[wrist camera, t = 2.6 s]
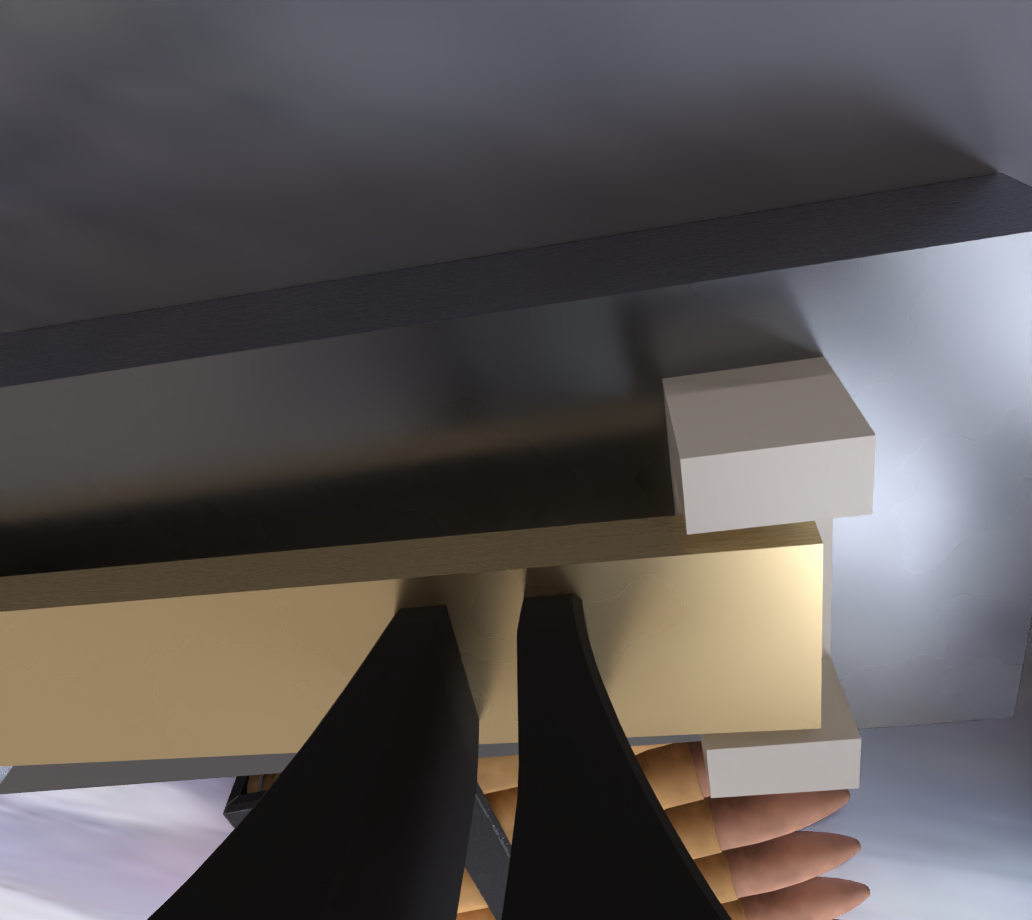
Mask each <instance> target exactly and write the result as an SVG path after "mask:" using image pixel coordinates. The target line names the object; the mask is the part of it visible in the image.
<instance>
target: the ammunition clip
mask: <svg viewBox="0 0 1032 920" xmlns="http://www.w3.org/2000/svg"><path fill="white" fill-rule="evenodd" d="M631 748H632V750H633V752H634V754H635V756H636V758H637V760H638V762H639V764H640V766H641V768H642V770H643V772H644V774H645V776H646V778H647V780H648V782H649V783H650V785H651V787H652V789H653V791H654V793H655V795H656V797H657V798H658V800H659V802H660V804H661V806H662V807H663V809H664V811H665V813H666V815H667V816H668V818H669V820H670V822H671V823H672V825H673V827H674V828H675V830H676V832H677V834H678V835H679V837H680V839H681V840H682V842H683V844H684V845H685V847H686V849H687V851H688V852H689V854H690V855H691V857H692V859H693V860H694V862H695V863H696V865H697V867H698V868H699V870H700V871H701V873H702V875H703V876H704V878H705V879H706V881H707V883H708V884H709V886H710V887H711V889H712V891H713V892H714V894H715V895H716V897H717V898H718V900H719V901H720V903H721V904H722V906H723V907H724V909H725V910H726V912H727V913H728V914H729V916H730V917H731V919H732V920H839V919H834V918H836V917H838V916H840V915H842V914H844V913H846V912H848V911H850V910H852V909H853V908H855V907H856V906H858V905H859V904H860V903H862V902H863V901H864V900H866V899H867V898H868V897H869V895H870V889H869V888H868V886H866V885H864V884H861V883H858V882H854V881H851V880H845V879H840V878H828V877H816V876H819V875H821V874H823V873H825V872H827V871H829V870H831V869H833V868H835V867H837V866H839V865H841V864H842V863H844V862H846V861H847V860H849V859H850V858H851V857H852V856H854V855H855V854H856V853H857V852H858V851H859V850H860V848H861V845H860V842H859V841H858V840H857V839H855V838H852V837H848V836H844V835H840V834H834V833H827V832H813V831H797V830H799V829H802V828H804V827H806V826H809V825H811V824H813V823H815V822H817V821H819V820H821V819H823V818H825V817H827V816H829V815H830V814H832V813H833V812H835V811H837V810H838V809H839V808H840V807H842V806H843V805H844V804H845V803H847V802H848V801H849V799H850V793H849V791H848V790H847V789H841V790H826V791H811V792H796V793H781V794H765V795H750V796H735V797H720V798H711V796H710V790H709V784H708V778H707V773H706V767H705V761H704V755H703V749H702V743H701V741H695V742H682V743H669V744H655V745H642V746H631ZM518 768H519V755H510V756H497V757H484V758H478V772H477V789H476V796H475V803H474V809H473V816H472V823H471V829H470V836H469V842H468V849H467V855H466V861H465V867H464V874H463V880H462V886H461V893H460V899H459V905H458V911H457V918H456V920H501V919H502V912H503V905H504V898H505V891H506V884H507V877H508V870H509V862H510V853H511V845H512V837H513V829H514V820H515V812H516V804H517V791H518ZM280 774H281V773H273V774H260V775H247V776H237V777H236V780H235V783H234V786H233V788H232V791H231V794H230V796H229V799H228V802H227V804H226V807H225V810H224V812H223V815H224V816H225V817H226V819H227V820H228V821H229V822H230V824H231V825H232V826H233V827H234V829H235V828H236V827H237V826H238V824H239V823H240V822H241V821H242V820H243V819H244V817H245V816H246V815H247V814H248V813H249V812H250V810H251V809H252V808H253V807H254V806H255V805H256V803H257V802H258V801H259V800H260V799H261V797H262V796H263V795H264V794H265V792H266V791H267V790H268V789H269V787H270V786H271V785H272V784H273V782H274V781H275V780H276V779H277V777H278V776H279V775H280Z"/></svg>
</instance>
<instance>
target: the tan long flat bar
mask: <svg viewBox="0 0 1032 920" xmlns="http://www.w3.org/2000/svg"><path fill="white" fill-rule="evenodd" d="M569 593H573V594H574V595H576V596H577V597H579V598H580V599H582V601H583V606H584V612H585V617H586V623H587V629H588V634H589V640H590V645H591V648H592V651H593V654H594V658H595V661H596V664H597V667H598V670H599V673H600V675H601V678H602V681H603V683H604V686H605V688H606V691H607V693H608V695H609V698H610V700H611V703H612V705H613V708H614V710H615V712H616V715H617V717H618V720H619V722H620V724H621V726H622V728H623V731H624V733H625V735H626V737H647V736H669V735H690V734H712V733H733V732H755V731H777V730H798V729H820V728H821V681H822V599H823V542H822V539H821V536H820V534H819V531H818V528H817V526H816V523H815V521H806V522H797V523H788V524H779V525H770V526H761V527H752V528H743V529H734V530H725V531H715V532H706V533H697V534H688V535H687V532H686V527H685V522H684V518H683V515H674V516H663V517H652V518H641V519H630V520H619V521H608V522H598V523H587V524H576V525H565V526H554V527H543V528H532V529H521V530H510V531H499V532H488V533H477V534H466V535H455V536H444V537H433V538H422V539H411V540H400V541H389V542H378V543H367V544H356V545H345V546H334V547H323V548H312V549H301V550H290V551H280V552H269V553H258V554H247V555H236V556H225V557H214V558H203V559H192V560H181V561H170V562H159V563H148V564H137V565H126V566H115V567H104V568H93V569H82V570H71V571H60V572H49V573H38V574H27V575H16V576H5V577H0V766H22V765H43V764H65V763H87V762H108V761H130V760H151V759H173V758H194V757H216V756H238V755H259V754H281V753H297V752H298V751H299V750H300V749H301V747H302V746H303V745H304V743H305V742H306V741H307V739H308V738H309V737H310V735H311V734H312V733H313V731H314V730H315V729H316V727H317V726H318V724H319V723H320V722H321V720H322V719H323V718H324V716H325V715H326V713H327V712H328V711H329V709H330V708H331V706H332V705H333V704H334V702H335V701H336V700H337V698H338V697H339V695H340V694H341V693H342V691H343V690H344V689H345V687H346V686H347V684H348V683H349V681H350V680H351V678H352V677H353V675H354V674H355V673H356V671H357V670H358V668H359V667H360V665H361V664H362V662H363V661H364V659H365V658H366V657H367V655H368V654H369V652H370V651H371V649H372V648H373V646H374V645H375V643H376V642H377V640H378V639H379V637H380V636H381V634H382V633H383V631H384V630H385V628H386V627H387V625H388V624H389V622H390V621H391V620H392V618H393V617H394V615H395V614H396V613H397V612H398V610H399V609H400V608H411V607H423V606H434V605H446V606H447V610H448V613H449V617H450V620H451V624H452V627H453V631H454V634H455V638H456V641H457V645H458V648H459V651H460V655H461V658H462V662H463V665H464V669H465V672H466V676H467V679H468V683H469V686H470V690H471V693H472V697H473V700H474V704H475V707H476V711H477V714H478V718H479V744H496V743H518V695H517V628H518V622H519V617H520V611H521V607H522V602H523V598H527V597H538V596H548V595H558V594H569Z"/></svg>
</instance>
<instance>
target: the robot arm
mask: <svg viewBox="0 0 1032 920" xmlns="http://www.w3.org/2000/svg"><path fill="white" fill-rule="evenodd" d="M517 695H518V755H519V768H518V791H517V804H516V812H515V820H514V829H513V837H512V845H511V853H510V862H509V870H508V877H507V884H506V891H505V898H504V905H503V912H502V919H501V920H732V919H731V917H730V916H729V914H728V913H727V912H726V910H725V909H724V907H723V906H722V904H721V903H720V901H719V900H718V898H717V897H716V895H715V894H714V892H713V891H712V889H711V887H710V886H709V884H708V883H707V881H706V879H705V878H704V876H703V875H702V873H701V871H700V870H699V868H698V867H697V865H696V863H695V862H694V860H693V859H692V857H691V855H690V854H689V852H688V851H687V849H686V847H685V845H684V844H683V842H682V840H681V839H680V837H679V835H678V834H677V832H676V830H675V828H674V827H673V825H672V823H671V822H670V820H669V818H668V816H667V815H666V813H665V811H664V809H663V807H662V806H661V804H660V802H659V800H658V798H657V797H656V795H655V793H654V791H653V789H652V787H651V785H650V783H649V782H648V780H647V778H646V776H645V774H644V772H643V770H642V768H641V766H640V764H639V762H638V760H637V758H636V756H635V754H634V752H633V750H632V748H631V746H630V744H629V741H628V739H627V737H626V735H625V733H624V731H623V728H622V726H621V724H620V722H619V720H618V717H617V715H616V712H615V710H614V708H613V705H612V703H611V700H610V698H609V695H608V693H607V691H606V688H605V686H604V683H603V681H602V678H601V675H600V673H599V670H598V667H597V664H596V661H595V658H594V654H593V651H592V648H591V645H590V640H589V634H588V629H587V623H586V617H585V612H584V606H583V601H582V599H580V598H579V597H577V596H576V595H574V594H573V593H569V594H558V595H548V596H538V597H527V598H523V602H522V607H521V611H520V617H519V622H518V628H517ZM478 750H479V718H478V714H477V711H476V707H475V704H474V700H473V697H472V693H471V690H470V686H469V683H468V679H467V676H466V672H465V669H464V665H463V662H462V658H461V655H460V651H459V648H458V645H457V641H456V638H455V634H454V631H453V627H452V624H451V620H450V617H449V613H448V610H447V606H446V605H434V606H423V607H411V608H400V609H399V610H398V612H397V613H396V614H395V615H394V617H393V618H392V620H391V621H390V622H389V624H388V625H387V627H386V628H385V630H384V631H383V633H382V634H381V636H380V637H379V639H378V640H377V642H376V643H375V645H374V646H373V648H372V649H371V651H370V652H369V654H368V655H367V657H366V658H365V659H364V661H363V662H362V664H361V665H360V667H359V668H358V670H357V671H356V673H355V674H354V675H353V677H352V678H351V680H350V681H349V683H348V684H347V686H346V687H345V689H344V690H343V691H342V693H341V694H340V695H339V697H338V698H337V700H336V701H335V702H334V704H333V705H332V706H331V708H330V709H329V711H328V712H327V713H326V715H325V716H324V718H323V719H322V720H321V722H320V723H319V724H318V726H317V727H316V729H315V730H314V731H313V733H312V734H311V735H310V737H309V738H308V739H307V741H306V742H305V743H304V745H303V746H302V747H301V749H300V750H299V751H298V752H297V754H296V755H295V756H294V757H293V759H292V760H291V761H290V762H289V764H288V765H287V766H286V767H285V769H284V770H283V771H282V772H281V774H280V775H279V776H278V777H277V779H276V780H275V781H274V782H273V784H272V785H271V786H270V787H269V789H268V790H267V791H266V792H265V794H264V795H263V796H262V797H261V799H260V800H259V801H258V802H257V803H256V805H255V806H254V807H253V808H252V809H251V810H250V812H249V813H248V814H247V815H246V816H245V817H244V819H243V820H242V821H241V822H240V823H239V824H238V826H237V827H236V828H235V829H234V830H233V831H232V832H231V834H230V835H229V836H228V837H227V838H226V839H225V840H224V841H223V843H222V844H221V845H220V846H219V847H218V848H217V849H216V850H215V851H214V852H213V853H212V854H211V855H210V857H209V858H208V859H207V860H206V861H205V862H204V863H203V864H202V865H201V866H200V867H199V868H198V870H197V871H196V872H195V873H194V874H193V875H192V876H191V877H190V878H189V879H188V880H187V881H186V882H185V883H184V884H183V885H182V886H181V887H180V888H179V889H178V890H177V891H176V892H175V893H174V894H173V895H172V896H171V897H170V898H169V899H168V900H167V901H166V902H165V903H164V904H163V905H162V906H161V907H160V908H159V909H158V910H157V911H155V912H154V913H153V914H152V915H151V916H150V917H149V918H148V919H147V920H456V918H457V911H458V905H459V899H460V893H461V886H462V880H463V874H464V867H465V861H466V855H467V849H468V842H469V836H470V829H471V823H472V816H473V809H474V803H475V796H476V789H477V772H478Z"/></svg>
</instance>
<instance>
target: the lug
mask: <svg viewBox="0 0 1032 920" xmlns="http://www.w3.org/2000/svg"><path fill="white" fill-rule="evenodd" d="M662 384H663V394H664V405H665V415H666V425H667V435H668V446H669V456H670V466H671V476H672V486H673V497H674V507H675V515H683V518H684V522H685V527H686V532H687V535H688V534H697V533H706V532H715V531H725V530H734V529H743V528H752V527H761V526H770V525H779V524H788V523H797V522H806V521H815V523H816V526H817V528H818V531H819V534H820V536H821V539H822V542H823V599H822V681H821V728H820V729H798V730H777V731H755V732H733V733H712V734H700V738H701V743H702V749H703V755H704V761H705V767H706V773H707V778H708V784H709V790H710V796H711V798H720V797H735V796H750V795H765V794H781V793H796V792H811V791H826V790H841V789H856V788H859V778H860V758H861V736H860V734H859V731H858V728H857V726H856V723H855V720H854V718H853V715H852V713H851V710H850V707H849V705H848V702H847V699H846V697H845V694H844V691H843V689H842V686H841V684H840V681H839V678H838V676H837V673H836V670H835V668H834V665H833V663H832V660H831V657H830V640H831V588H832V536H833V519H834V518H843V517H852V516H861V515H870V514H872V509H873V489H874V468H875V447H876V434H875V433H874V431H873V430H872V428H871V427H870V425H869V424H868V422H867V421H866V419H865V417H864V416H863V414H862V413H861V411H860V410H859V408H858V407H857V405H856V404H855V402H854V401H853V399H852V398H851V396H850V395H849V393H848V392H847V390H846V389H845V387H844V386H843V384H842V383H841V381H840V380H839V378H838V376H837V375H836V373H835V372H834V370H833V369H832V367H831V366H830V364H829V363H828V361H827V360H826V358H825V357H817V358H810V359H803V360H795V361H788V362H781V363H773V364H766V365H759V366H751V367H744V368H737V369H729V370H722V371H715V372H707V373H700V374H693V375H685V376H678V377H671V378H663V379H662Z"/></svg>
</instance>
